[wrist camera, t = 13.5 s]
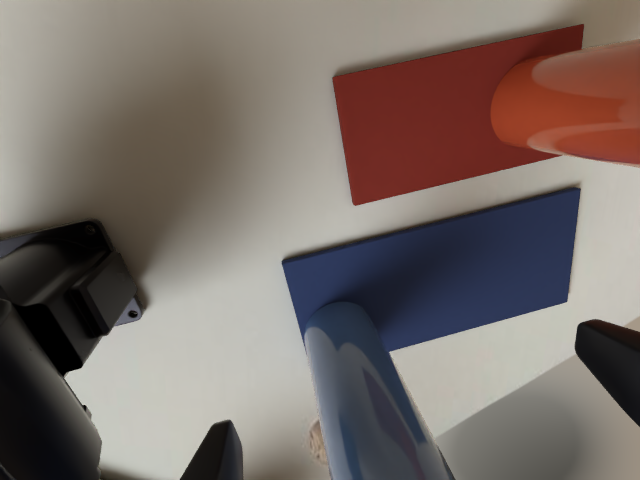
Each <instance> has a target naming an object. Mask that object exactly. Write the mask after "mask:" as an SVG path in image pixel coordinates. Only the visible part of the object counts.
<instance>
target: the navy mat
mask: <svg viewBox="0 0 640 480" xmlns="http://www.w3.org/2000/svg"><path fill="white" fill-rule="evenodd" d="M580 191H581V189H580V188H576V187H573V188H569V189H566V190H562V191H558V192H554V193H550V194H546V195H542V196H538V197H534V198H530V199H526V200H522V201H518V202H514V203H510V204H506V205H502V206H498V207H494V208H490V209H486V210H482V211H478V212H474V213H470V214H466V215H462V216H458V217H454V218H450V219H446V220H442V221H438V222H434V223H430V224H426V225H422V226H418V227H414V228H410V229H406V230H402V231H398V232H394V233H391V234H387V235H383V236H379V237H375V238H371V239H367V240H363V241H359V242H355V243H351V244H347V245H343V246H339V247H335V248H331V249H327V250H323V251H319V252H315V253H311V254H307V255H303V256H299V257H295V258H291V259H287V260H283V261H282V266H283V269H284V273H285V277H286V280H287V284H288V288H289V291H290V295H291V299H292V302H293V306H294V309H295V313H296V317H297V320H298V324H299V328H300V331H301V335H302V339H303V342H304V346H305V341H304V330H305V326H306V324H307V322H308V320H309V319H310V317H311V316H312V315H313V314H314V313H315V312H316V311H317V310H319V309H320V308H322V307H323V306H326V305H328V304H331V303H335V302H351V303H355V304H357V305H359V306H361V307H363V308H364V309H365V310H366V311H367V312H368V313H369V315H370V317H371V319H372V321H373V322H374V324H375V326H376V328H377V330H378V332H379V334H380V336H381V338H382V340H383V342H384V344H385V345H386V347H387V349H388V351H389V352H390V351H393V350H397V349H401V348H404V347H408V346H411V345H415V344H418V343H422V342H426V341H429V340H433V339H436V338H440V337H444V336H447V335H451V334H454V333H458V332H461V331H465V330H469V329H472V328H476V327H479V326H483V325H487V324H490V323H494V322H497V321H501V320H504V319H508V318H512V317H515V316H519V315H522V314H526V313H529V312H533V311H537V310H540V309H544V308H547V307H551V306H555V305H558V304H562V303H565V302H567V299H568V291H569V282H570V274H571V266H572V257H573V249H574V241H575V232H576V224H577V216H578V207H579V199H580ZM305 350H306V346H305ZM306 353H307V351H306Z"/></svg>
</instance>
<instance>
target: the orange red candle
mask: <svg viewBox="0 0 640 480" xmlns="http://www.w3.org/2000/svg"><path fill="white" fill-rule="evenodd" d="M490 117H491V123H492V127H493V130H494V132H495V134H496V135H497V137H498V138H499V139H500V140H501V141H502V142H503V143H505V144H507V145H509V146H512V147H517V148H523V149H529V150H535V151H541V152H547V153H553V154H559V155H565V156H571V157H577V158H583V159H589V160H595V161H601V162H607V163H613V164H619V165H625V166H631V167H637V168H640V39H635V40H629V41H624V42H618V43H612V44H606V45H601V46H595V47H589V48H583V49H578V50H572V51H566V52H560V53H555V54H549V55H543V56H537V57H532V58H528V59H526V60H523V61H521V62H520V63H518V64H516V65H515V66H514V67H513V68H511V69H510V70H509V71H508V72H507V73H506V74H505V76H504V77H503V78H502V80H501V81H500V83H499V84H498V86H497V88H496V90H495V93H494V96H493V99H492V103H491V110H490Z"/></svg>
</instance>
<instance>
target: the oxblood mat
mask: <svg viewBox="0 0 640 480" xmlns="http://www.w3.org/2000/svg"><path fill="white" fill-rule="evenodd" d="M583 30H584V24H581V25H576V26H571V27H566V28H562V29H557V30H552V31H547V32H543V33H538V34H533V35H529V36H524V37H519V38H514V39H510V40H505V41H500V42H495V43H491V44H486V45H481V46H477V47H472V48H467V49H462V50H458V51H453V52H448V53H444V54H439V55H434V56H429V57H425V58H420V59H415V60H410V61H406V62H401V63H396V64H392V65H387V66H382V67H377V68H373V69H368V70H363V71H358V72H354V73H349V74H344V75H340V76H335V77H333V78H332V79H333V85H334V92H335V98H336V104H337V110H338V116H339V122H340V128H341V134H342V140H343V147H344V153H345V159H346V165H347V171H348V177H349V183H350V189H351V196H352V202H353V204H354V205H355V206H356V205H360V204H364V203H369V202H373V201H377V200H381V199H385V198H389V197H393V196H397V195H402V194H406V193H410V192H414V191H418V190H422V189H426V188H430V187H434V186H439V185H443V184H447V183H451V182H455V181H459V180H463V179H467V178H472V177H476V176H480V175H484V174H488V173H492V172H496V171H500V170H504V169H509V168H513V167H517V166H521V165H525V164H529V163H533V162H537V161H542V160H546V159H550V158H554V157H558V156H562V155H559V154H553V153H547V152H541V151H535V150H529V149H523V148H517V147H512V146H509V145H507V144H505V143H503V142H502V141H501V140H500V139H499V138H498V137H497V135H496V134H495V132H494V130H493V127H492V123H491V117H490V110H491V103H492V99H493V96H494V93H495V90H496V88H497V86H498V84H499V83H500V81H501V80H502V78H503V77H504V76H505V74H506V73H507V72H508V71H509V70H510V69H511V68H513V67H514V66H515V65H516V64H518V63H520V62H521V61H523V60H526V59H528V58H532V57H537V56H543V55H549V54H555V53H560V52H566V51H572V50H578V49H582V40H583Z"/></svg>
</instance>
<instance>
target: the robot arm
mask: <svg viewBox="0 0 640 480" xmlns="http://www.w3.org/2000/svg"><path fill="white" fill-rule="evenodd" d="M88 225H91V226H93V227H94V228H95V232H93V231H90V230H89V229H88ZM136 291H137V288H136V286H135V283H134V281H133V279H132V277H131V275H130V273H129V271H128V269H127V267H126V265H125V263H124V261H123V259H122V257H121V255H120V253H118V252H116V251H115V249H114V247H113V245H112V243H111V241H110V239H109V237H108V235H107V233H106V231H105V229H104V227H103V225H102V223H101V222H100V221H98V220H97V219H93V218H91V219H85V220H81V221H76V222H72V223H68V224H63V225H59V226H55V227H50V228H46V229H42V230H37V231H33V232H29V233H25V234H20V235H16V236H12V237H7V238H3V239H0V480H99V478H100V476H101V471H100V469H99V468H98V464H99V461H100V453H101V445H102V440H101V438H100V436H99V433H98V431H97V429H96V427H95V425H94V424H93V423H92V421H91V412H90V411H89V410H88V408H87V407H86V406H85V405H82V404H81V403H80V401H79V400H78V398H77V397H76V395H75V394H74V392H73V391H72V389H71V388H70V386H69V385H68V383H67V382H66V380H65V379H64V378H65V376H66V375H67V374H68V372H69V371H73V370H76V369H79V368H81V367H82V366H83V365H84V363H85V362H86V360H87V359H88V357H89V356H90V354H91V353H92V351H93V350H94V349H95V347H96V346H97V344H98V343H99V341H100V340H101V338H102V337H103V336H107V335H108V334H109V333H110V331H111V330H112V328H113V327H114V326H118V325H122V324H126V323H130V322H134V321H137V320H139V319H140V318H141V317H142V315H143V313H144V308H143V306H142V304H141V302H140V300H139V298H138V296H137V294H136ZM133 310H134V311H136V312H137V314H133V313H132V312H131V311H133ZM575 351H576V354H577V355H578V357H579V358H580V360H581V361H582V362H583V363H584V364H585V365H586V367H587V368H588V369H589V370H590V371H591V373H592V374H593V375H594V376H595V377H596V378H597V380H598V381H599V382H600V383H601V384H602V386H603V387H604V388H605V389H606V390H607V391H608V393H609V394H610V395H611V396H612V397H613V398H614V400H615V401H616V402H617V403H618V404H619V406H620V407H621V408H622V409H623V410H624V411H625V412H626V413H627V414H628V415H629V416H630V418H631V419H632V420H633V421H634V422H635V423H636V424H637V425H638V426H639V427H640V332H638V331H635V330H631V329H628V328H625V327H622V326H618V325H615V324H612V323H608V322H605V321H602V320H598V319H593V320H589V321H585V322H582V323H580V324H579V325H578V327H577V334H576V341H575ZM180 480H244V479H243V452H242V445H241V441H240V439H239V436H238V434H237V432H236V429H235V427H234V425H233V423H232V421H231V420H225V421H221V422H217V423H215V424H213V425H212V426H211V428H210V430H209V431H208V433H207V435H206V436H205V438H204V440H203V441H202V443H201V445H200V446H199V448H198V450H197V451H196V453H195V455H194V457H193V458H192V460H191V462H190V463H189V465H188V467H187V468H186V470H185V472H184V473H183V475H182V477H181V478H180Z"/></svg>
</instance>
